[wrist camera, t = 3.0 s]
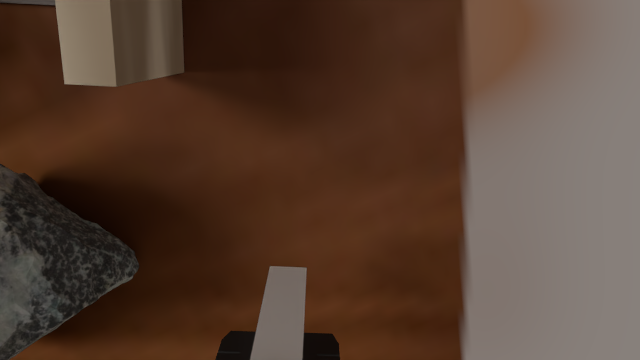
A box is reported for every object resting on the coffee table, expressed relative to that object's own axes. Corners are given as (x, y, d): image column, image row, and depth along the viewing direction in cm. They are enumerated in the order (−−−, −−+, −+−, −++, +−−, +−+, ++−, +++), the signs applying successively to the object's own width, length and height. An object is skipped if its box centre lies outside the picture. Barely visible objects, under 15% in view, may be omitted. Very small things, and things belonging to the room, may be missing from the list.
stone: (-54, 524, 14) (-240, 235, 11) (-102, 399, 20) (-226, 197, 17) (198, 337, 20) (129, 126, 17) (102, 289, 27) (39, 129, 24)
